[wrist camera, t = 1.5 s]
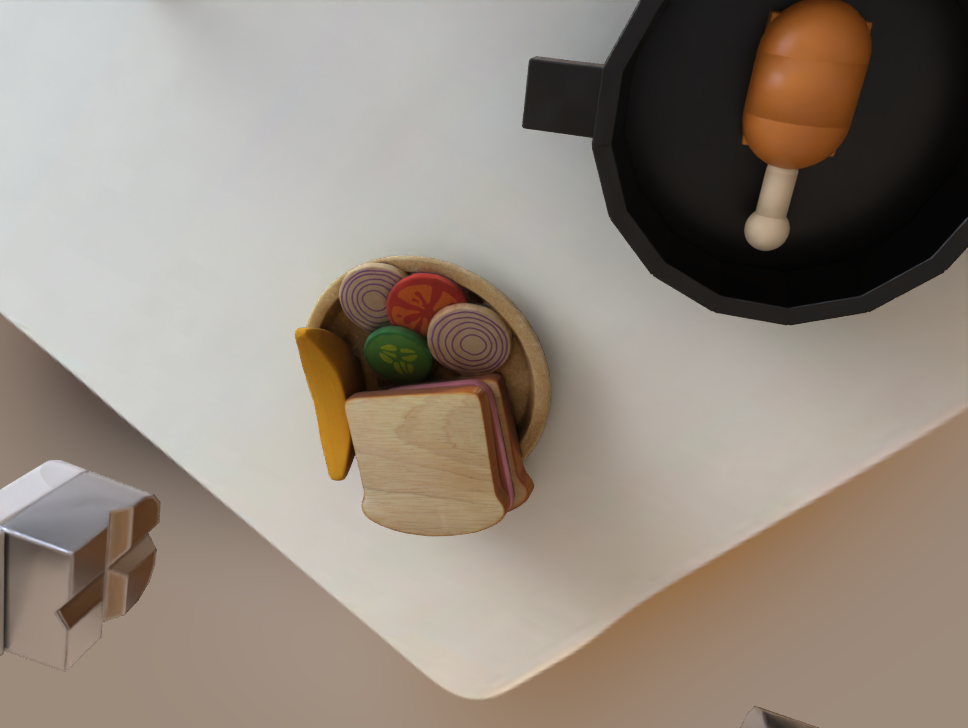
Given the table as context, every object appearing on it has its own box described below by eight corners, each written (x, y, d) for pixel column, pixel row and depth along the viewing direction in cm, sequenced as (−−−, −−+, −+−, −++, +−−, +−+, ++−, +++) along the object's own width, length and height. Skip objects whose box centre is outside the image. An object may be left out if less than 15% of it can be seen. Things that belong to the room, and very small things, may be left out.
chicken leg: (767, -10, 28) (773, -8, 24) (876, 1, 27) (896, 5, 24) (713, 228, 32) (712, 256, 28) (806, 243, 31) (816, 273, 28)
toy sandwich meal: (548, 247, 34) (525, 285, 30) (561, 502, 40) (543, 562, 36) (292, 248, 38) (240, 282, 34) (338, 482, 43) (298, 536, 39)
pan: (568, -115, 28) (543, -128, 24) (1158, -69, 25) (1240, -77, 21) (527, 241, 34) (502, 275, 31) (993, 319, 31) (1032, 370, 27)
